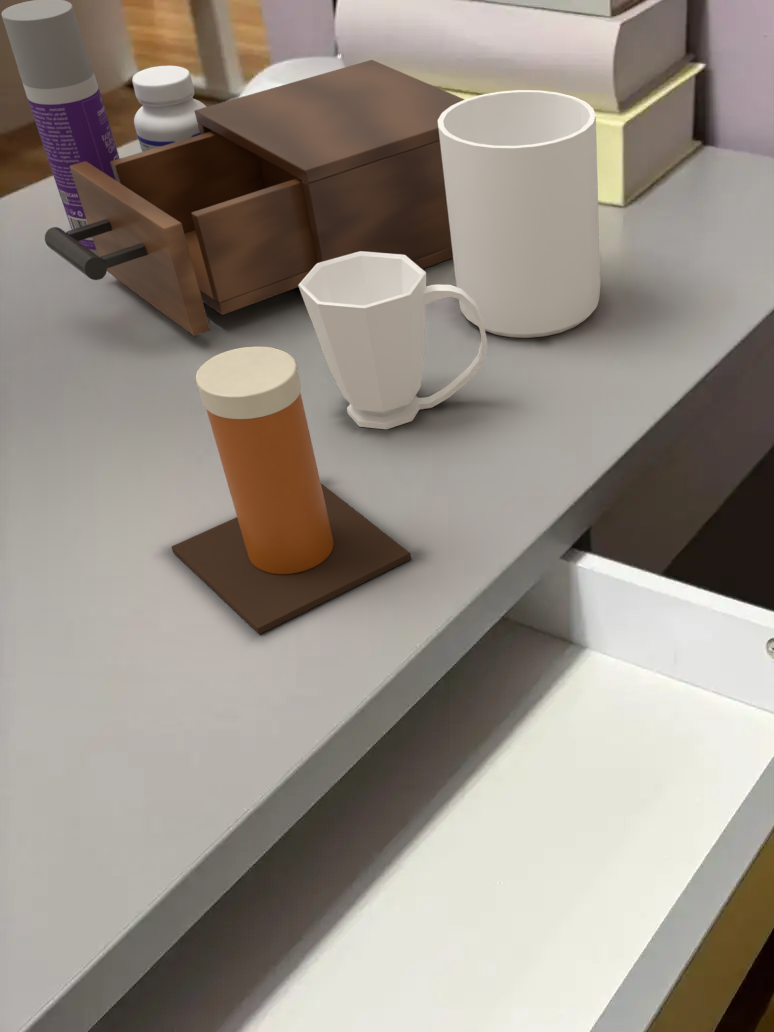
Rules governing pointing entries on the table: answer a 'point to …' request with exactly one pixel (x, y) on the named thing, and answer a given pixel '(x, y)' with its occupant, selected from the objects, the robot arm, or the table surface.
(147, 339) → the table surface
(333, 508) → the coaster
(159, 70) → the pill bottle
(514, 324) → the mug
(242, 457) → the spice jar
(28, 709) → the table surface
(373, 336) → the cup
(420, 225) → the cabinet
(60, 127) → the container
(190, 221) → the drawer
